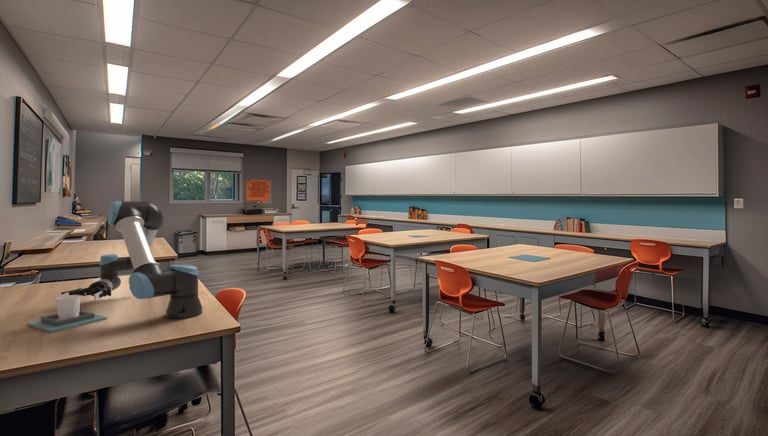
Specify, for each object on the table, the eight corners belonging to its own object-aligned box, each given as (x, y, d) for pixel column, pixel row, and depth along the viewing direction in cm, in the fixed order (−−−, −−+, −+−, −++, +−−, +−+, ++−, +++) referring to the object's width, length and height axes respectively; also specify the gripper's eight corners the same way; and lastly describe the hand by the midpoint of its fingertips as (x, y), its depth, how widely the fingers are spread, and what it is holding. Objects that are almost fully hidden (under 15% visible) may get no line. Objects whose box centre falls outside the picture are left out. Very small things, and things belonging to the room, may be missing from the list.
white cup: (82, 319, 162) (81, 297, 162) (58, 323, 156) (57, 300, 156) (79, 316, 167) (78, 293, 167) (55, 319, 162) (55, 297, 161)
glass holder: (106, 319, 166) (106, 312, 166) (51, 332, 148) (51, 325, 148) (82, 313, 175) (82, 306, 175) (27, 325, 157) (27, 318, 157)
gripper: (128, 294, 193) (109, 304, 172) (71, 296, 187) (44, 307, 166) (128, 279, 193) (109, 288, 172) (71, 281, 186) (44, 291, 166)
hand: (77, 298), depth 169 cm, fingers open, 13 cm apart
